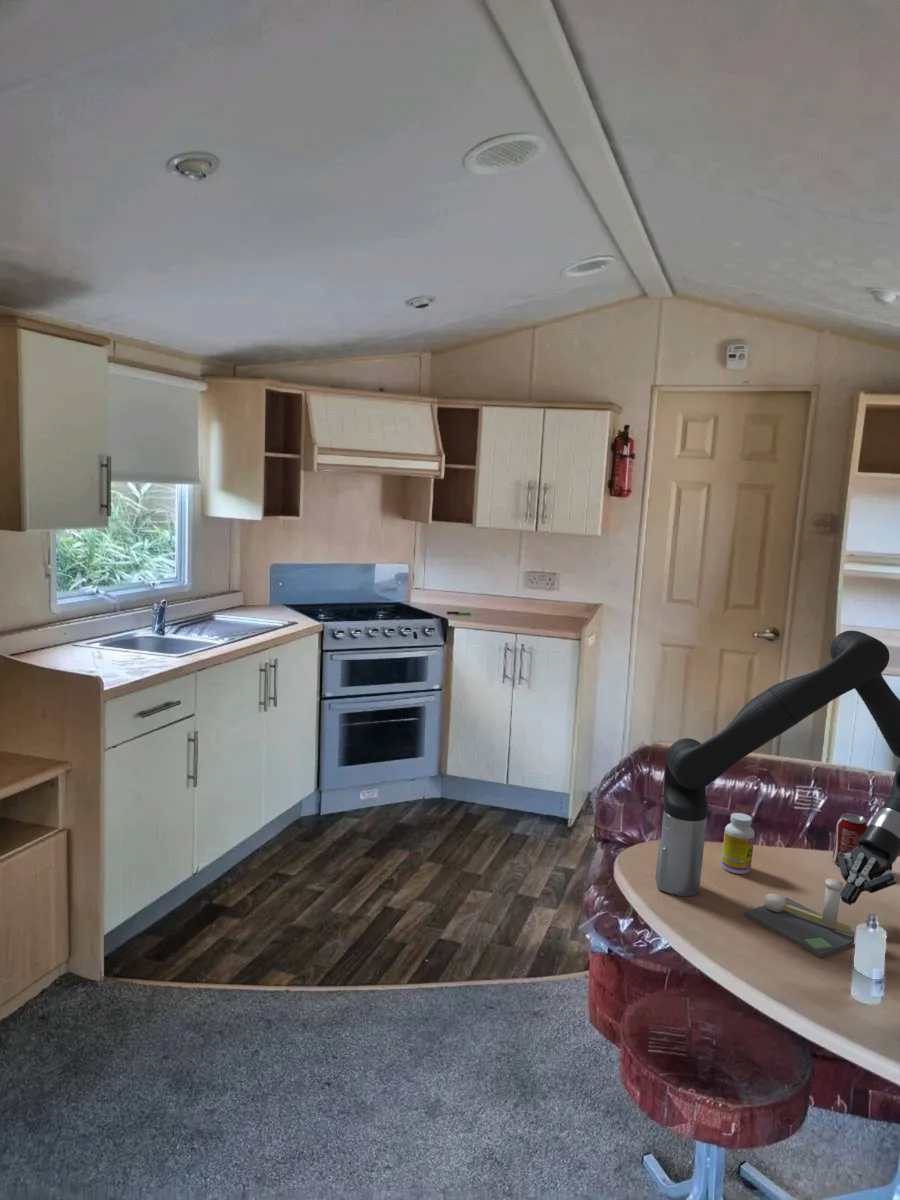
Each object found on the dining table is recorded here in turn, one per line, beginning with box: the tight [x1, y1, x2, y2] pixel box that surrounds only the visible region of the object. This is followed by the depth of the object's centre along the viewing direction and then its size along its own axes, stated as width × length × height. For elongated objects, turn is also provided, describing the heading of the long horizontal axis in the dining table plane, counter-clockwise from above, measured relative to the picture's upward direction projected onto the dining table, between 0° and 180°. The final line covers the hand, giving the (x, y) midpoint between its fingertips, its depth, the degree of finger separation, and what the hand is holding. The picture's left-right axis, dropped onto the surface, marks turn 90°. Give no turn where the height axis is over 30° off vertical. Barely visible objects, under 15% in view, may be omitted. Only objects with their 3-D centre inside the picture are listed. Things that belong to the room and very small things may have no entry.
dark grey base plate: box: [744, 897, 855, 959], centre depth 178 cm, size 14×18×1 cm
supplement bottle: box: [720, 812, 755, 875], centre depth 203 cm, size 7×7×13 cm
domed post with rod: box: [763, 877, 852, 933], centre depth 179 cm, size 17×4×10 cm, turn 51°
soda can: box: [832, 812, 869, 870], centre depth 209 cm, size 7×7×12 cm
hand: (845, 901), depth 179 cm, fingers closed
